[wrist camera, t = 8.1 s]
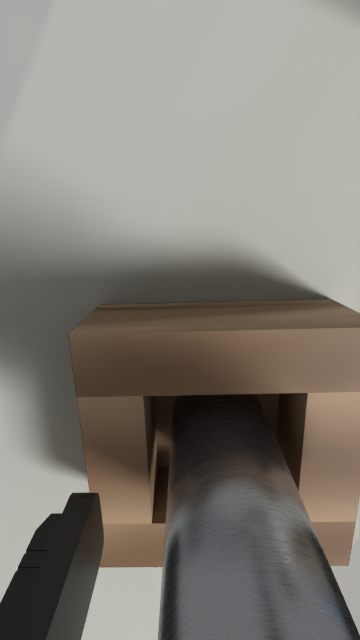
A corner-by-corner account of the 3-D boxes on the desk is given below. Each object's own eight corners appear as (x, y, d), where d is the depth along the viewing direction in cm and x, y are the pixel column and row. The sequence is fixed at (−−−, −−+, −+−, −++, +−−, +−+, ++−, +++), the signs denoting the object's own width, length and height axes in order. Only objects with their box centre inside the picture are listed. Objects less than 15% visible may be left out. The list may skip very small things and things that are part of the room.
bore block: (100, 304, 14) (68, 334, 10) (330, 298, 14) (386, 327, 10) (119, 489, 17) (99, 567, 13) (310, 487, 17) (348, 565, 13)
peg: (171, 376, 14) (102, 1114, 2) (264, 374, 14) (666, 1132, 2) (174, 453, 15) (138, 1207, 3) (260, 452, 15) (514, 1221, 3)
